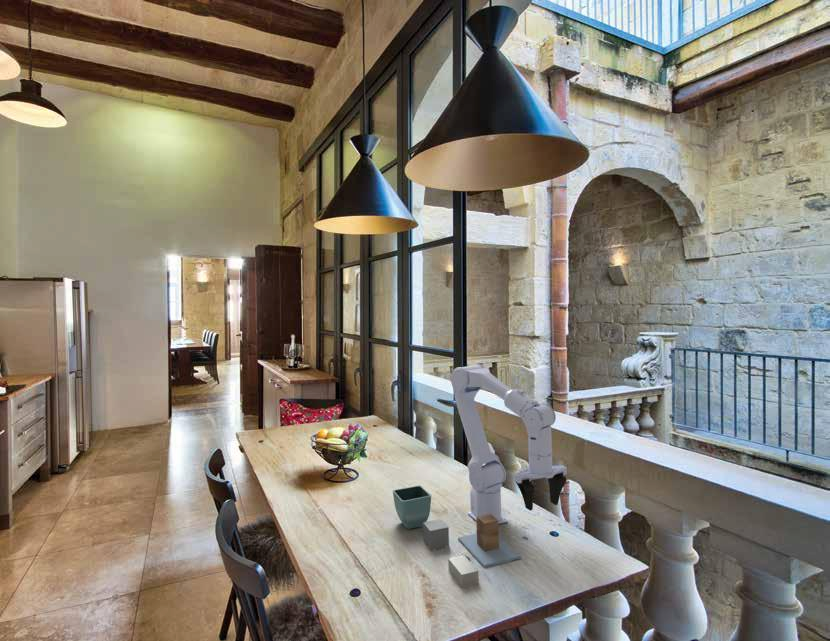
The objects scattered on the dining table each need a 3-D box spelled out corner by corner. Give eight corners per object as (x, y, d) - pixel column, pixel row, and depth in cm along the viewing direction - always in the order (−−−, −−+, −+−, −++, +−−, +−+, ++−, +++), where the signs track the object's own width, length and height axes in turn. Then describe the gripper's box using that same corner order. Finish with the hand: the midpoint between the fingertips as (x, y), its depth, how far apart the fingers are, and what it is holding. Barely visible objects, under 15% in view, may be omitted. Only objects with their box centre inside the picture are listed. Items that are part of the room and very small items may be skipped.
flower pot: (392, 520, 129) (391, 489, 129) (421, 515, 132) (420, 484, 132) (402, 534, 120) (401, 501, 120) (432, 528, 123) (432, 495, 123)
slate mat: (458, 539, 117) (458, 537, 117) (491, 532, 120) (491, 530, 120) (484, 567, 103) (484, 565, 103) (521, 558, 107) (521, 555, 107)
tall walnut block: (477, 543, 113) (476, 516, 113) (491, 540, 114) (490, 513, 114) (484, 551, 109) (484, 523, 109) (499, 548, 111) (498, 520, 111)
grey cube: (423, 541, 116) (423, 522, 116) (441, 537, 118) (440, 518, 118) (430, 550, 112) (430, 530, 112) (449, 546, 114) (448, 527, 113)
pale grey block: (448, 571, 103) (448, 558, 103) (464, 567, 104) (463, 554, 104) (462, 588, 96) (461, 574, 96) (478, 584, 98) (478, 570, 98)
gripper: (524, 461, 107) (526, 517, 107) (574, 453, 112) (575, 507, 112) (508, 453, 114) (510, 506, 114) (556, 446, 119) (557, 496, 119)
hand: (541, 506), depth 114 cm, fingers open, 7 cm apart
